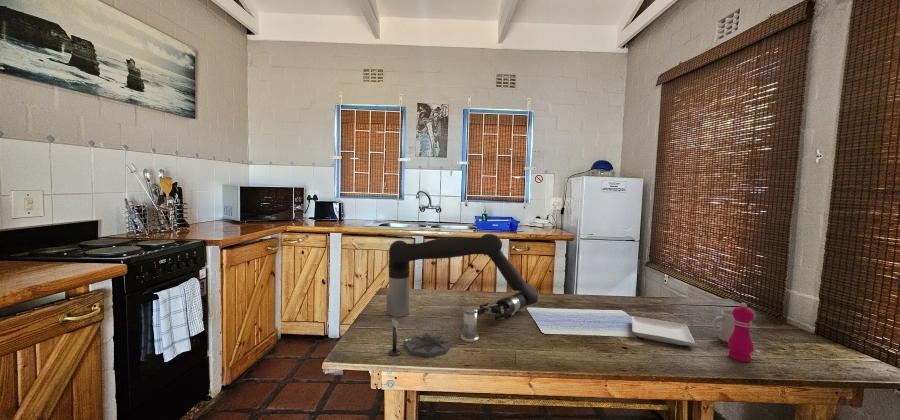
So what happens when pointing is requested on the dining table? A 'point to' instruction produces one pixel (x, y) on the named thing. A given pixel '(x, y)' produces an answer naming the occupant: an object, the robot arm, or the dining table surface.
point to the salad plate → (662, 331)
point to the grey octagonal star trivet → (427, 345)
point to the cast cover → (470, 325)
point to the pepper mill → (741, 334)
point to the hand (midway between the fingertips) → (486, 315)
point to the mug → (724, 325)
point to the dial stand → (395, 339)
